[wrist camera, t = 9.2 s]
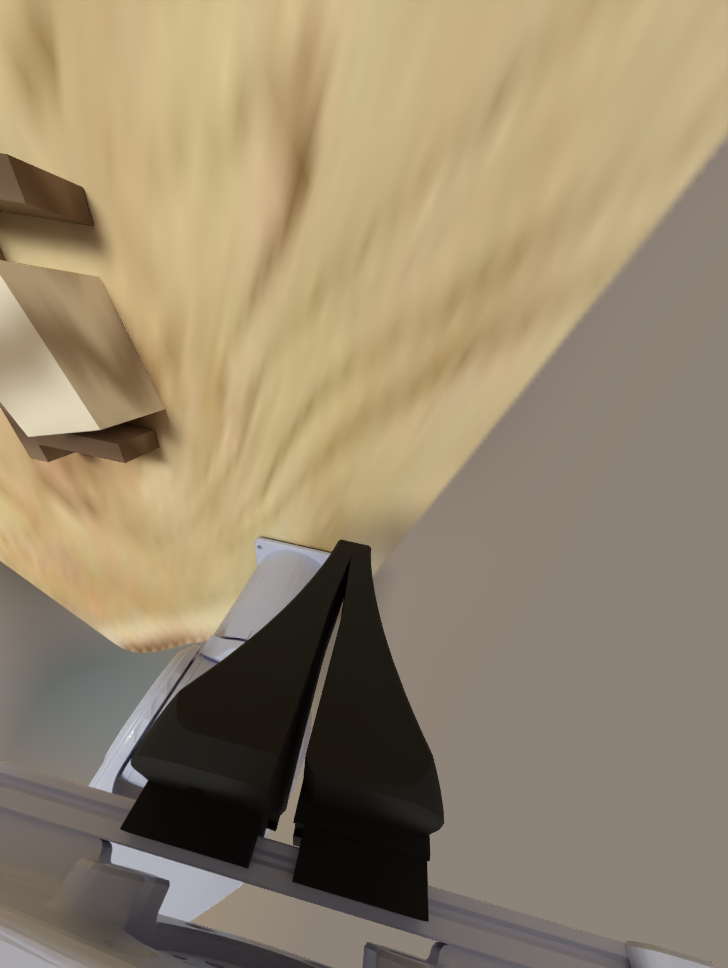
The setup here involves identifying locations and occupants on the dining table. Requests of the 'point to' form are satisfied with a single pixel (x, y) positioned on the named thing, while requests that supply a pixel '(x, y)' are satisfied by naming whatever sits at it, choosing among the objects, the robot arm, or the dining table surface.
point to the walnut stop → (15, 191)
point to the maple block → (66, 354)
